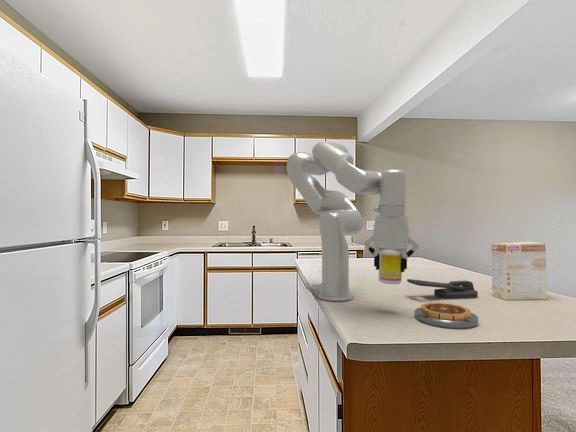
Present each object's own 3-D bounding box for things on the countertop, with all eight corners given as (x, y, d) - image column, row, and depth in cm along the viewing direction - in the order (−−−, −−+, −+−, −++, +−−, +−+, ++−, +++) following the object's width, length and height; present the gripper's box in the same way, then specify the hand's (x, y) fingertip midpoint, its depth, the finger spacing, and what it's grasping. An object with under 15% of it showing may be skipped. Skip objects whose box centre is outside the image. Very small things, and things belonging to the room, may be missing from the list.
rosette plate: (413, 324, 87) (413, 313, 87) (415, 308, 101) (415, 299, 101) (482, 332, 80) (482, 320, 80) (474, 314, 95) (474, 304, 95)
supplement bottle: (404, 285, 95) (406, 241, 95) (381, 284, 95) (383, 240, 95) (397, 280, 102) (398, 239, 101) (375, 279, 102) (377, 238, 101)
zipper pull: (404, 278, 118) (462, 275, 124) (404, 296, 118) (463, 292, 124) (419, 283, 109) (481, 279, 115) (419, 302, 109) (482, 298, 115)
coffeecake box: (531, 295, 119) (530, 241, 119) (547, 299, 112) (546, 243, 112) (491, 295, 118) (490, 242, 119) (504, 300, 111) (503, 243, 111)
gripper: (360, 210, 98) (358, 269, 98) (422, 212, 91) (420, 275, 91) (364, 210, 105) (363, 265, 105) (423, 211, 98) (421, 270, 98)
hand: (390, 269), depth 98 cm, fingers closed on supplement bottle, 6 cm apart
